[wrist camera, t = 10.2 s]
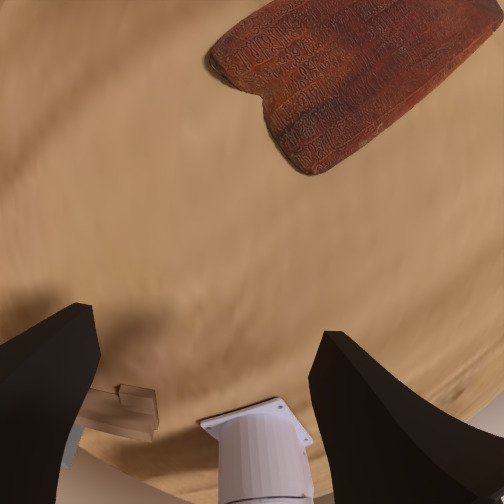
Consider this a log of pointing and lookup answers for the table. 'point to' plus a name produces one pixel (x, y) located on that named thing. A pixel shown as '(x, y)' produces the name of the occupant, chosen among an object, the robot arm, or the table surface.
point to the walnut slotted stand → (121, 412)
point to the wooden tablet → (347, 66)
